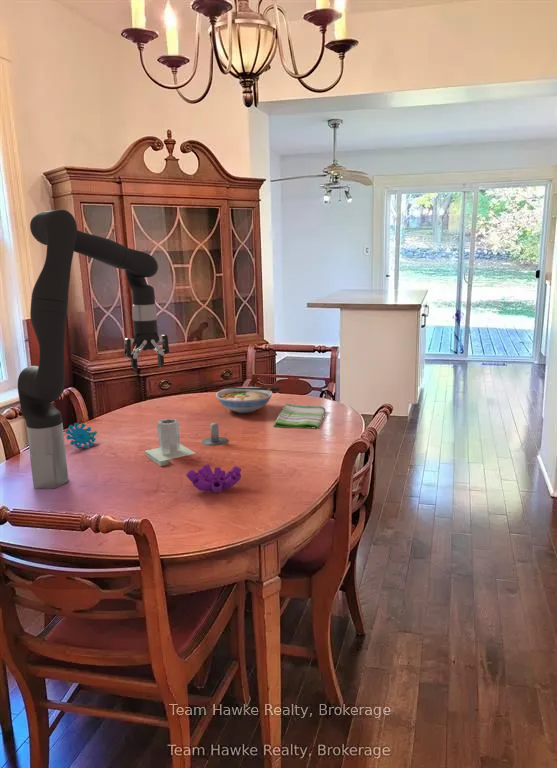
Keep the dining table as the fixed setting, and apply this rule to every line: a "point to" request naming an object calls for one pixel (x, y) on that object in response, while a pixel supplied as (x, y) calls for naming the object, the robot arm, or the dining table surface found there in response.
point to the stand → (214, 437)
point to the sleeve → (168, 436)
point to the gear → (81, 435)
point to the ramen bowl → (244, 398)
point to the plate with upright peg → (163, 459)
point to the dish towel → (300, 416)
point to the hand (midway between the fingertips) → (148, 368)
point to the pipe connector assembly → (214, 478)
